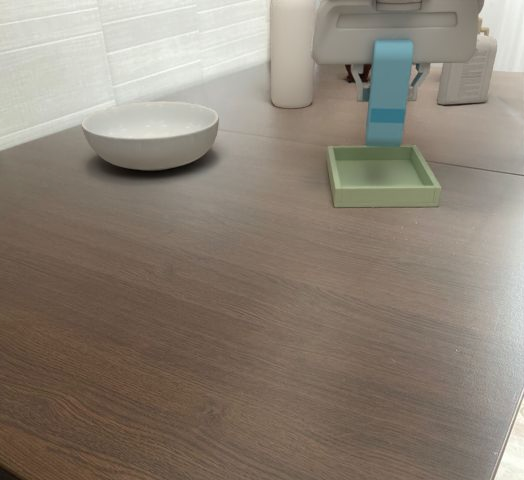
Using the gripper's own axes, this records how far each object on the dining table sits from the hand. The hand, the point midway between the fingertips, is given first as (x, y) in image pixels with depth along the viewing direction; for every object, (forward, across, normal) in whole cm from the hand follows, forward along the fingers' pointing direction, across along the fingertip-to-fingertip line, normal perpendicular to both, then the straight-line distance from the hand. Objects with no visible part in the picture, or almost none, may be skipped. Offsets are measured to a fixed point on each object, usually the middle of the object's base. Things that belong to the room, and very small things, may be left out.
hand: (385, 100), depth 73 cm
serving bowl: (+11, +34, -10) cm, 37 cm away
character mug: (+11, -26, -63) cm, 69 cm away
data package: (+5, 0, 0) cm, 5 cm away
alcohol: (+11, +12, -46) cm, 49 cm away
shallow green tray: (+11, 0, 0) cm, 11 cm away
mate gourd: (+11, -4, -67) cm, 68 cm away
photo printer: (+11, -23, -45) cm, 52 cm away
